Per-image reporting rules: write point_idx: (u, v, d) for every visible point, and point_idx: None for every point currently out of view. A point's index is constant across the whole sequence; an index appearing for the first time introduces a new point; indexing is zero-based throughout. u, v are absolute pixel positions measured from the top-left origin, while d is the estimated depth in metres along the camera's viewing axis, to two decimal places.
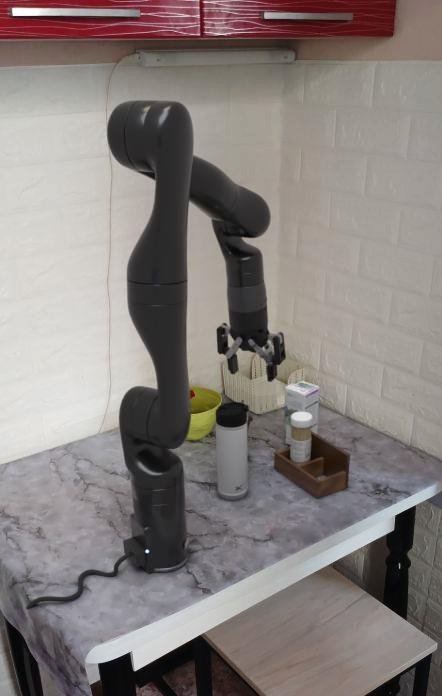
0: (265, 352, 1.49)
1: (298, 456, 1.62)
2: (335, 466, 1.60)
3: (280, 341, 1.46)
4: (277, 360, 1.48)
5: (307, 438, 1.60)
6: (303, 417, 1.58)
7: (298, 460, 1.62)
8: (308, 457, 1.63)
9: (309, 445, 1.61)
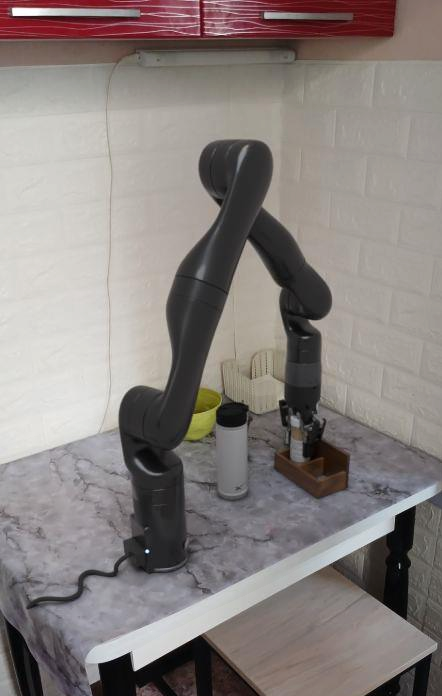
0: (305, 429, 1.58)
1: (298, 456, 1.62)
2: (335, 466, 1.60)
3: (319, 426, 1.54)
4: (310, 439, 1.57)
5: None
6: None
7: (298, 460, 1.62)
8: (308, 457, 1.63)
9: None
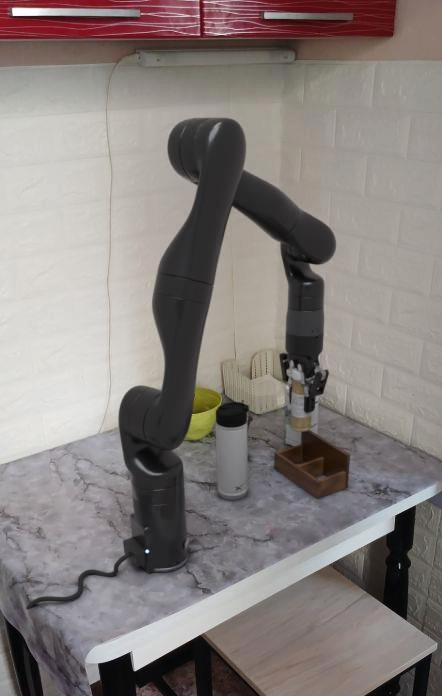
0: (307, 382, 1.52)
1: (299, 412, 1.56)
2: (335, 466, 1.60)
3: (321, 378, 1.49)
4: (312, 392, 1.51)
5: None
6: None
7: (299, 415, 1.57)
8: (309, 413, 1.57)
9: None
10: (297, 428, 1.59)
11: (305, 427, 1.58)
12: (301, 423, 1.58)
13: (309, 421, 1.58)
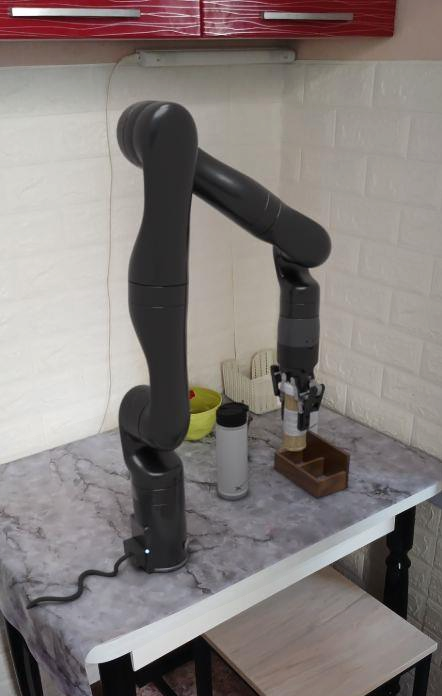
0: (301, 398, 1.37)
1: (292, 429, 1.42)
2: (335, 466, 1.60)
3: (317, 393, 1.34)
4: (306, 408, 1.37)
5: None
6: None
7: (292, 434, 1.42)
8: (304, 430, 1.42)
9: None
10: (290, 447, 1.44)
11: (299, 446, 1.44)
12: (294, 442, 1.43)
13: (303, 439, 1.44)
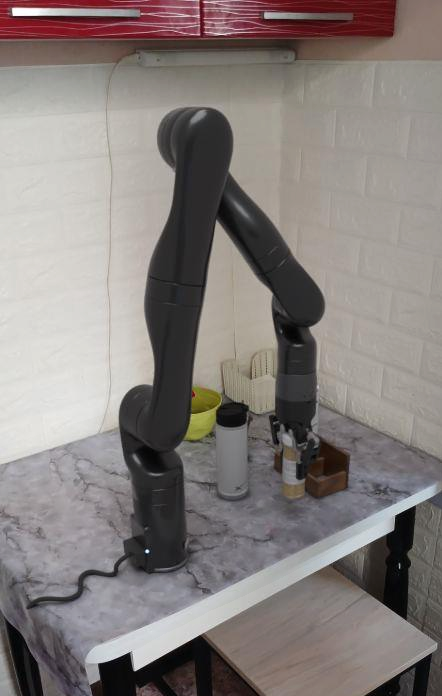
0: (299, 449, 1.40)
1: (291, 478, 1.44)
2: (335, 466, 1.60)
3: (315, 446, 1.36)
4: (304, 460, 1.39)
5: None
6: None
7: (291, 482, 1.44)
8: (302, 479, 1.45)
9: None
10: (289, 495, 1.46)
11: (298, 494, 1.46)
12: (293, 490, 1.45)
13: (302, 487, 1.46)
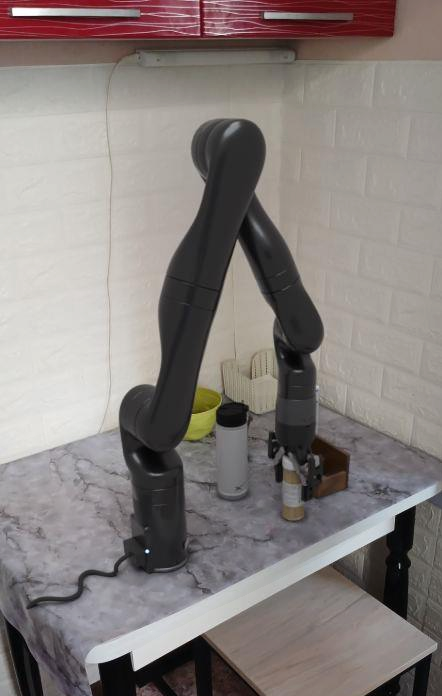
0: (302, 470, 1.41)
1: (290, 501, 1.47)
2: (335, 466, 1.60)
3: (315, 463, 1.38)
4: (309, 482, 1.40)
5: (300, 481, 1.45)
6: None
7: (291, 505, 1.47)
8: (302, 501, 1.47)
9: None
10: (289, 517, 1.49)
11: (297, 516, 1.49)
12: (293, 512, 1.48)
13: (301, 510, 1.49)
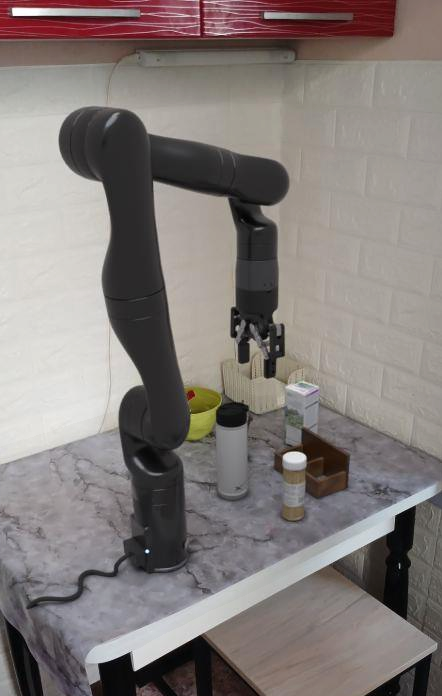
0: (263, 342, 1.33)
1: (290, 501, 1.47)
2: (335, 466, 1.60)
3: (277, 332, 1.30)
4: (271, 353, 1.32)
5: (300, 481, 1.45)
6: (296, 459, 1.43)
7: (291, 505, 1.47)
8: (302, 501, 1.47)
9: (303, 488, 1.46)
10: (289, 517, 1.49)
11: (297, 516, 1.49)
12: (293, 512, 1.48)
13: (301, 510, 1.49)
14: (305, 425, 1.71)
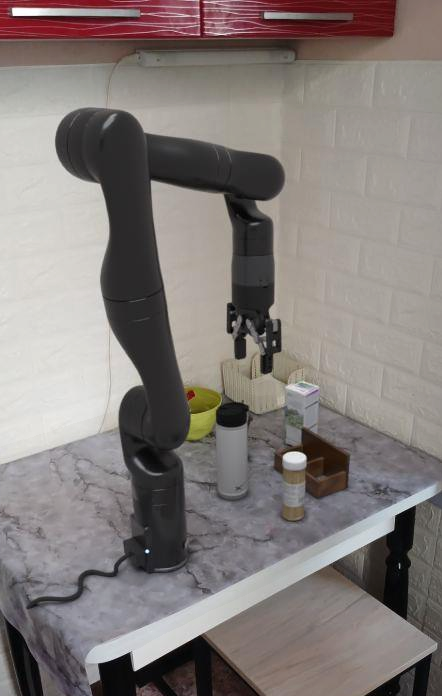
0: (260, 338, 1.33)
1: (290, 501, 1.47)
2: (335, 466, 1.60)
3: (273, 327, 1.30)
4: (268, 349, 1.31)
5: (300, 481, 1.45)
6: (296, 459, 1.43)
7: (291, 505, 1.47)
8: (302, 501, 1.47)
9: (303, 488, 1.46)
10: (289, 517, 1.49)
11: (297, 516, 1.49)
12: (293, 512, 1.48)
13: (301, 510, 1.49)
14: (305, 425, 1.71)
